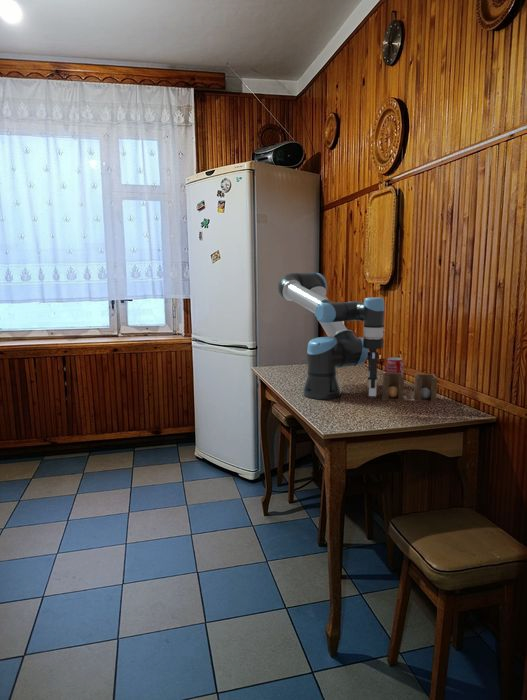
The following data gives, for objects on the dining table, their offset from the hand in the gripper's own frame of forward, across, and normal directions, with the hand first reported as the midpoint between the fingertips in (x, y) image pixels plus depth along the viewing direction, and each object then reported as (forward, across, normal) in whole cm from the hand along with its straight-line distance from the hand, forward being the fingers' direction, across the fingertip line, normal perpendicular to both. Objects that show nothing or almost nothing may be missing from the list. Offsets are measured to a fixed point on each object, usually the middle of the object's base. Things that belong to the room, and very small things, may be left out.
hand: (371, 391), depth 184 cm
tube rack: (+3, 0, -14) cm, 14 cm away
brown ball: (-1, 0, 0) cm, 1 cm away
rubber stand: (+3, 0, 0) cm, 3 cm away
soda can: (+3, +20, -10) cm, 23 cm away
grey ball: (+2, 0, -20) cm, 20 cm away
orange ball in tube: (+2, 0, -8) cm, 8 cm away
